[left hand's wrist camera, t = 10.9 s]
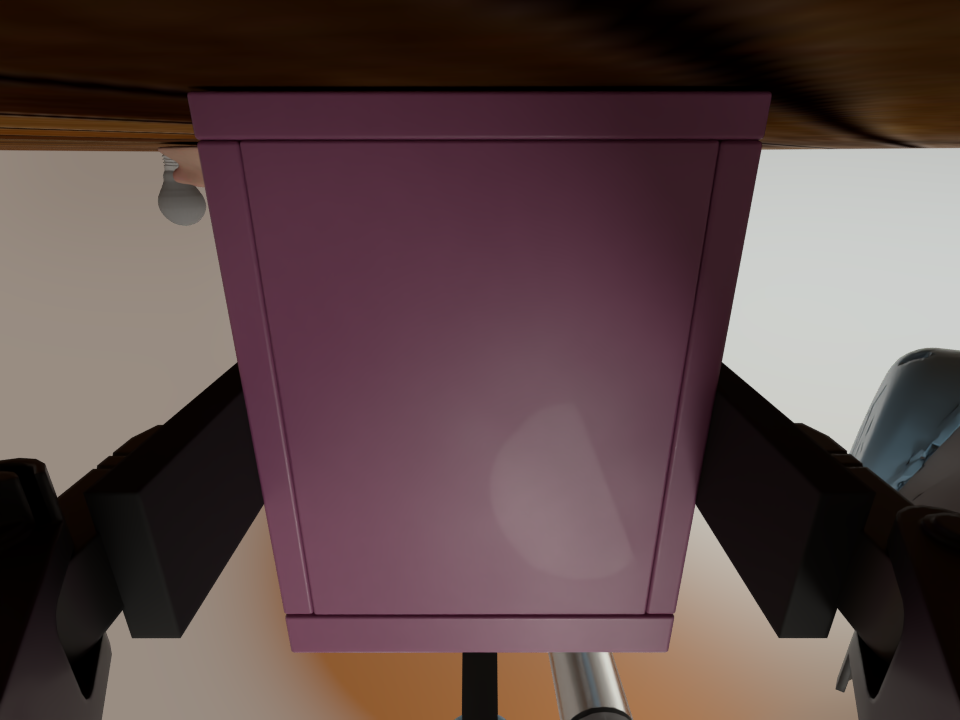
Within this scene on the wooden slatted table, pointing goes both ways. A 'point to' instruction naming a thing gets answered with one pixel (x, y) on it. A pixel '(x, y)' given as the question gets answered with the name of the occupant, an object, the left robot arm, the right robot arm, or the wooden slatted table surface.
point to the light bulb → (179, 198)
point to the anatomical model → (185, 164)
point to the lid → (479, 632)
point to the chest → (479, 335)
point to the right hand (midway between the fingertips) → (479, 645)
